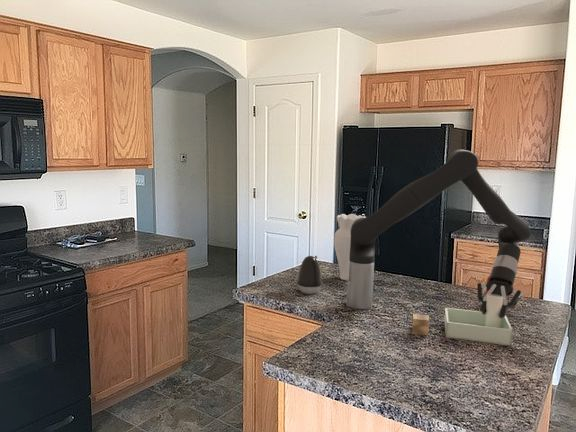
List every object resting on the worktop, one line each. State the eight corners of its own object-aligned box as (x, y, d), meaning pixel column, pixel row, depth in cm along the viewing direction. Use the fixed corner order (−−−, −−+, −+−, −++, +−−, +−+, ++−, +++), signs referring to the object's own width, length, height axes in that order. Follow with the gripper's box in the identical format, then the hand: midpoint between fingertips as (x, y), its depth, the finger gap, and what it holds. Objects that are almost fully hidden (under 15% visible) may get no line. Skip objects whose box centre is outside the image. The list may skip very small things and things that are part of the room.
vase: (356, 284, 209) (359, 219, 205) (326, 279, 217) (329, 215, 213) (370, 277, 221) (373, 215, 217) (341, 272, 229) (344, 212, 225)
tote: (445, 337, 152) (446, 322, 152) (444, 321, 167) (445, 307, 166) (511, 345, 147) (512, 330, 147) (503, 328, 162) (505, 314, 161)
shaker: (485, 327, 155) (488, 297, 153) (483, 322, 159) (486, 293, 158) (501, 329, 153) (504, 299, 152) (499, 324, 158) (502, 294, 157)
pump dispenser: (326, 291, 198) (327, 255, 196) (313, 297, 190) (315, 260, 188) (304, 286, 204) (306, 252, 202) (292, 292, 195) (293, 256, 193)
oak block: (412, 333, 155) (413, 318, 155) (412, 328, 160) (413, 313, 159) (428, 335, 154) (429, 320, 153) (428, 329, 159) (429, 315, 158)
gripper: (480, 262, 164) (467, 304, 156) (526, 269, 155) (515, 314, 148) (483, 274, 169) (470, 315, 161) (527, 281, 160) (517, 326, 153)
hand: (492, 315), depth 154 cm, fingers closed on shaker, 4 cm apart
